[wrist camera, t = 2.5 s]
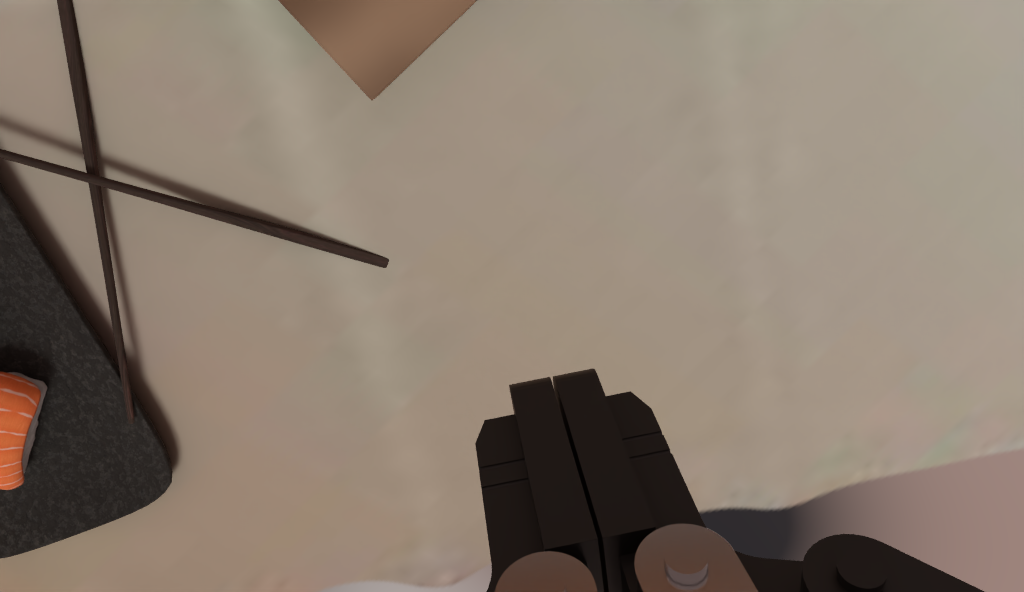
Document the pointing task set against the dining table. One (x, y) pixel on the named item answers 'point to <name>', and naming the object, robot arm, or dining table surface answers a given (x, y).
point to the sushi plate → (79, 367)
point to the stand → (376, 33)
